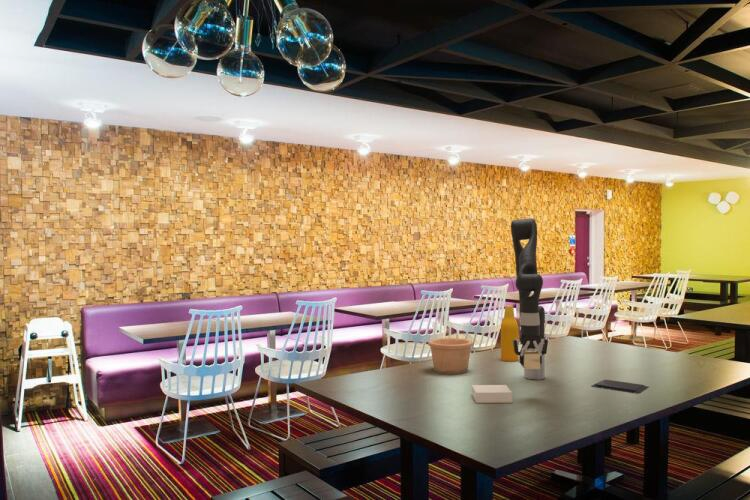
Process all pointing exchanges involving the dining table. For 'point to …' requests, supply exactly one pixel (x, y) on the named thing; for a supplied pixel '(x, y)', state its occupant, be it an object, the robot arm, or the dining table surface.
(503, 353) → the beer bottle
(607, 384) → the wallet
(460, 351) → the pottery
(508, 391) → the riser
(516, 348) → the robot arm
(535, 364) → the maple cube
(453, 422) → the dining table surface
